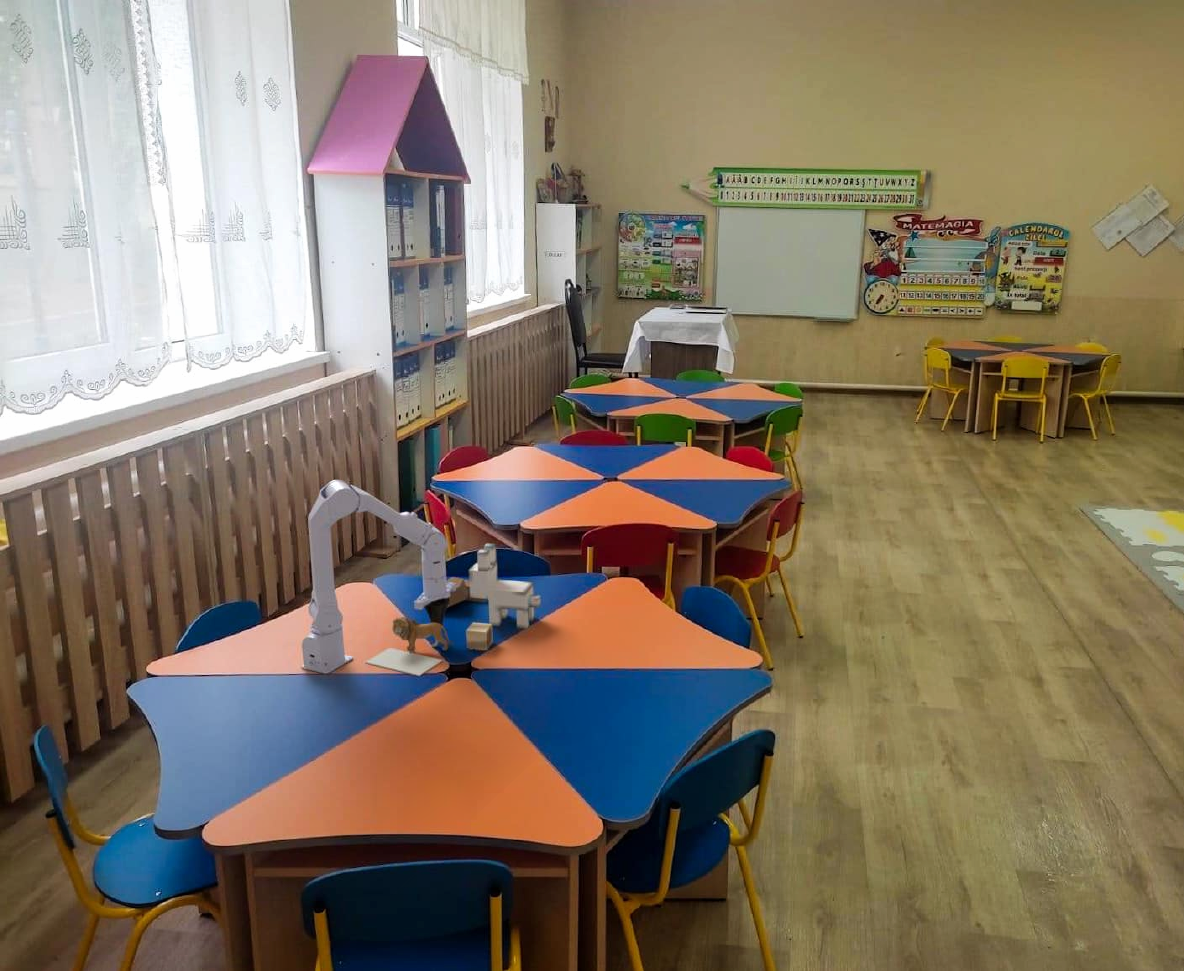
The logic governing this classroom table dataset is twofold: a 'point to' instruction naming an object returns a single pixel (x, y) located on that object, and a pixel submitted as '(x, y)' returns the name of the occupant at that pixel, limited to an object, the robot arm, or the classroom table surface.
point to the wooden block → (461, 591)
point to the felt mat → (404, 661)
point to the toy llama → (501, 590)
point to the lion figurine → (419, 632)
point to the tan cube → (479, 636)
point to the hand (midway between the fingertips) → (437, 626)
